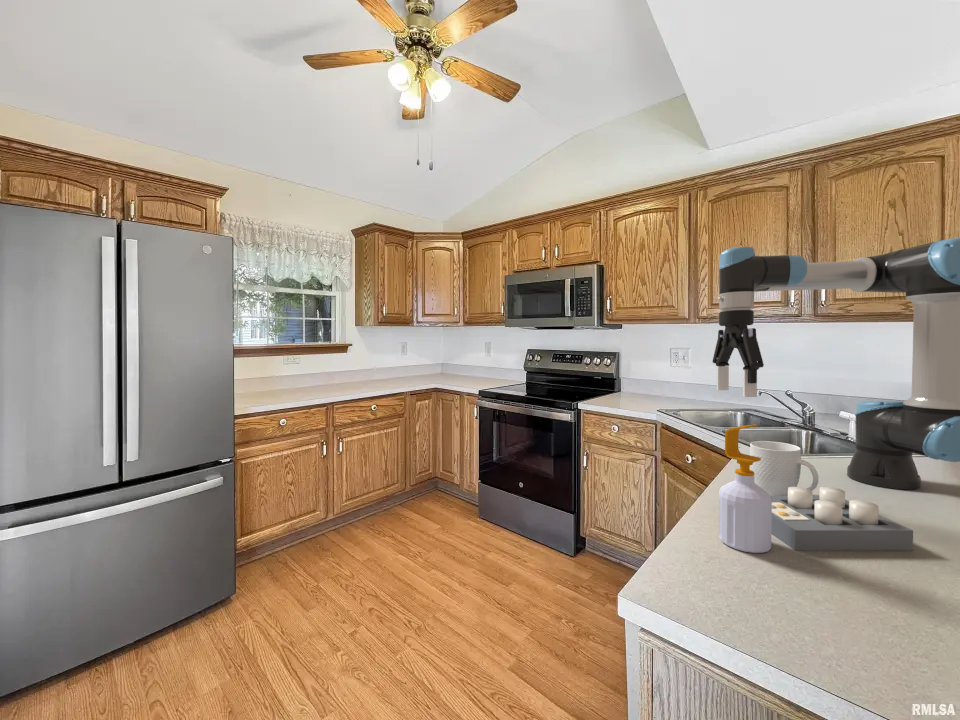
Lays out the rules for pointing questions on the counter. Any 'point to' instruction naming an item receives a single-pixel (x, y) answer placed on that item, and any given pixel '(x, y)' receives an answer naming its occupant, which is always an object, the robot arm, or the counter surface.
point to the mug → (778, 467)
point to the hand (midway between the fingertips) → (735, 393)
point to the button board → (835, 530)
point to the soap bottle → (744, 503)
